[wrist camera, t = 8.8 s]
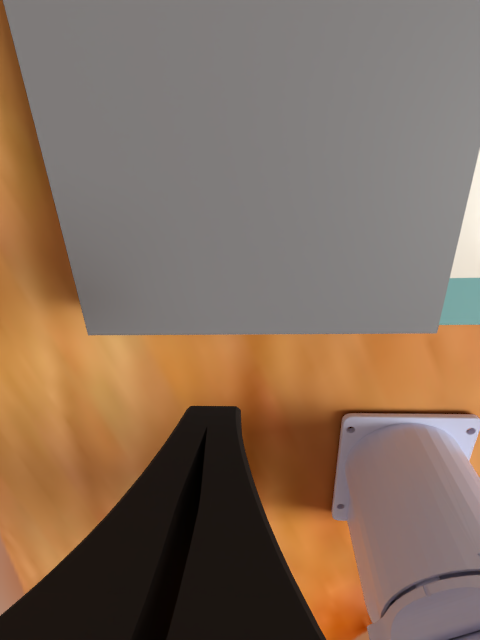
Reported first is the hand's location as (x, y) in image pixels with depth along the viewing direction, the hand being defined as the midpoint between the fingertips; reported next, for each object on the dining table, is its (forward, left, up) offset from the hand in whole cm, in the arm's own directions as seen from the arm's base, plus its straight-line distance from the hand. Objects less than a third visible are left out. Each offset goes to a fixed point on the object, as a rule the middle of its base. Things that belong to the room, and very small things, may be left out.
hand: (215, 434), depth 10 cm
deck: (+6, -1, -10) cm, 12 cm away
